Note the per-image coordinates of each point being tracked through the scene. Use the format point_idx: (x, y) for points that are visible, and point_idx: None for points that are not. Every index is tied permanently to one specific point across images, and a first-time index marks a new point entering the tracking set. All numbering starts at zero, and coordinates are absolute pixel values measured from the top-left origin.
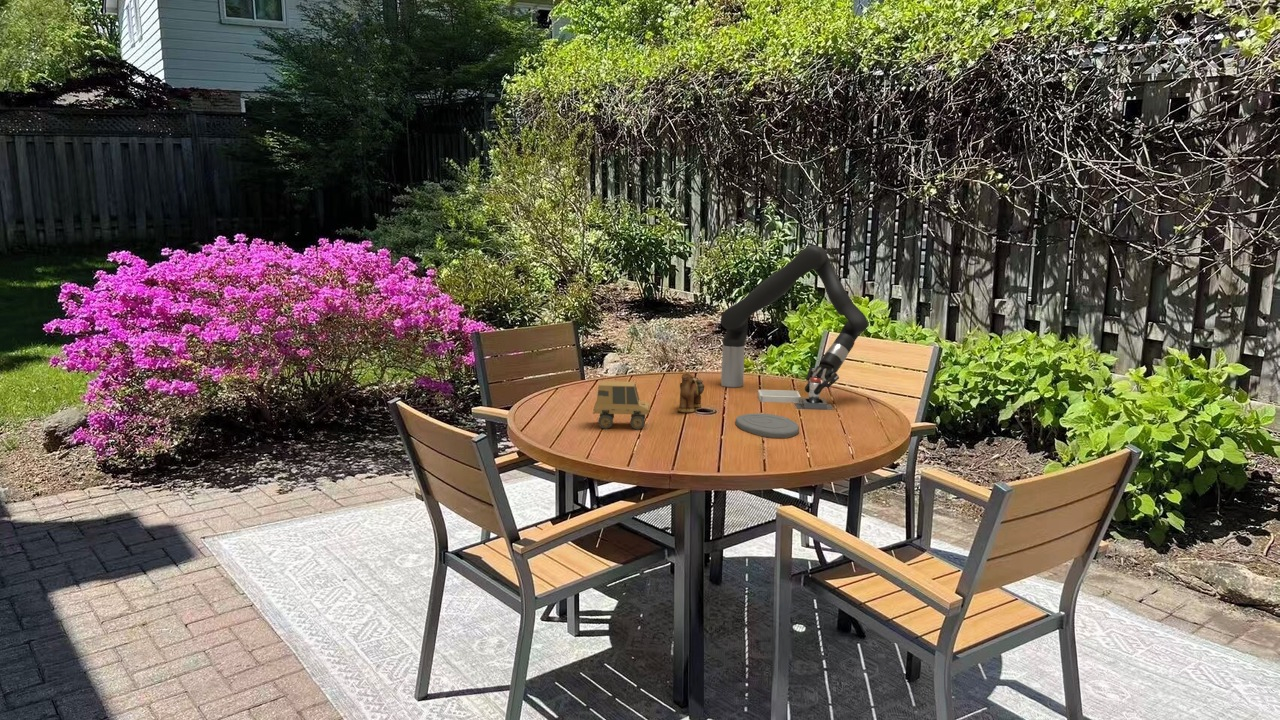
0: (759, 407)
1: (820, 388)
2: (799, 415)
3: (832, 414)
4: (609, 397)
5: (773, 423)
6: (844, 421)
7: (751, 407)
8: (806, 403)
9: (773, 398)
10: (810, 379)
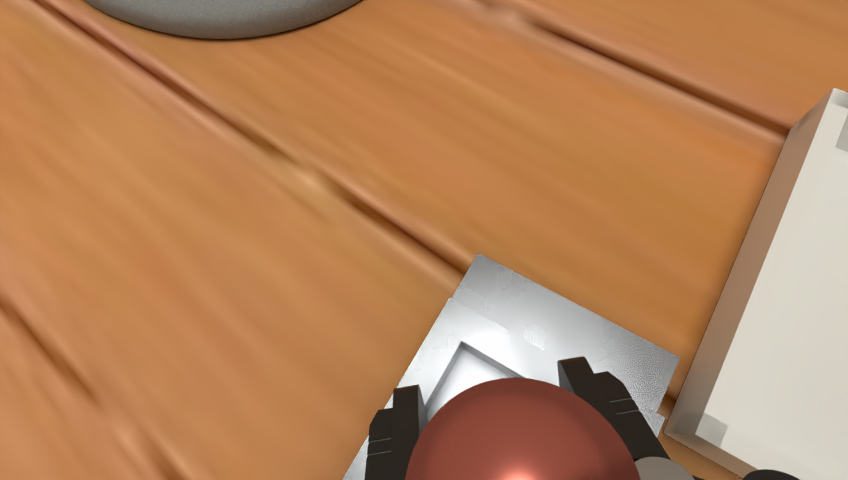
0: (672, 72)
1: (367, 476)
2: (357, 199)
3: (248, 471)
4: None
5: None
6: (50, 402)
7: (687, 28)
8: (441, 314)
9: (783, 190)
10: (532, 382)
